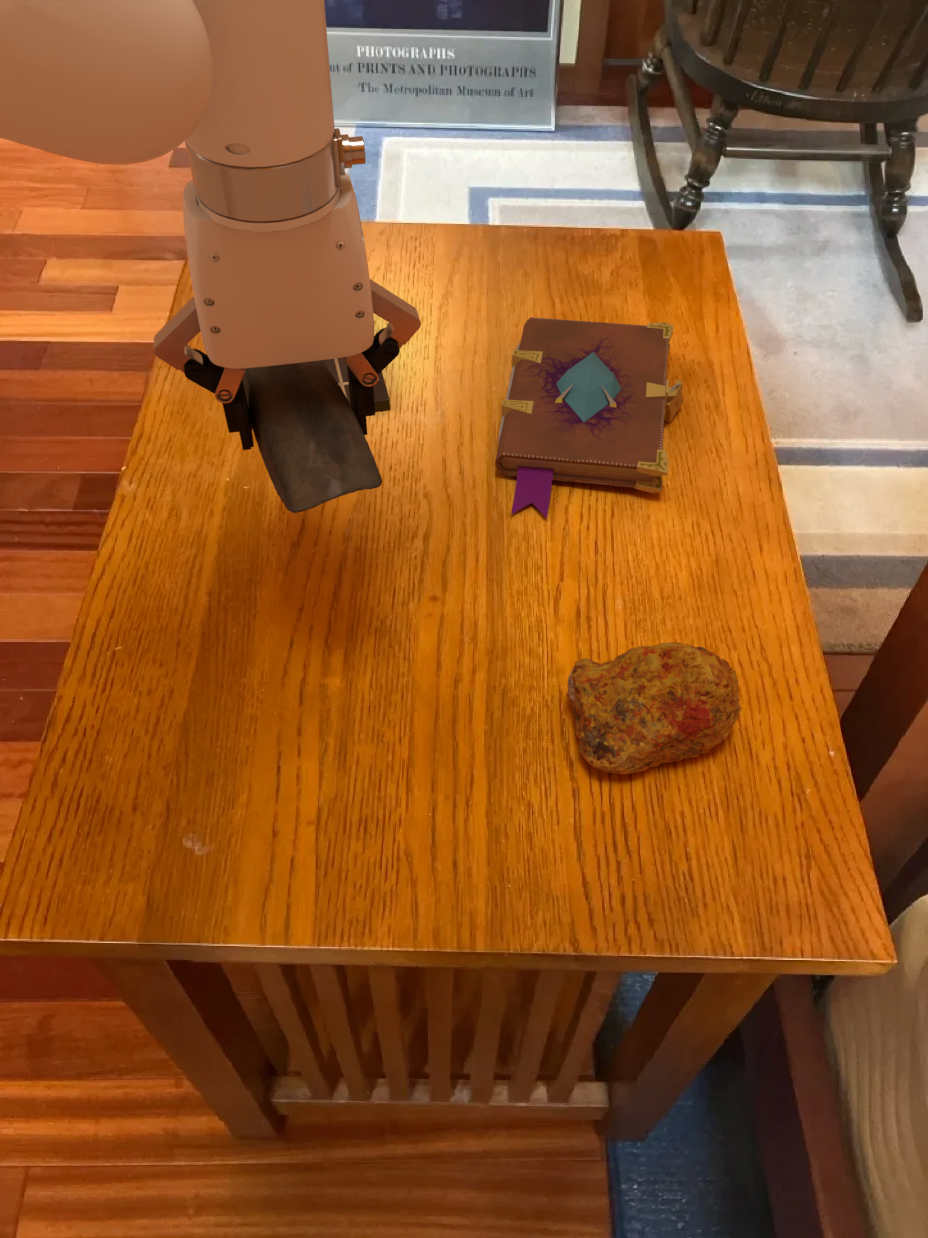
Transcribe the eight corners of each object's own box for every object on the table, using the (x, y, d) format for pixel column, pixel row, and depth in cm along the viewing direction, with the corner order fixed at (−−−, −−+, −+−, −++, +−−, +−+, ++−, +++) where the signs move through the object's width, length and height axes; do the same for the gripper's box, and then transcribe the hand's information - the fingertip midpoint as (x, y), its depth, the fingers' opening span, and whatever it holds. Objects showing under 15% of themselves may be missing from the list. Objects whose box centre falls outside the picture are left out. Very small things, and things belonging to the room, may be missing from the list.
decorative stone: (392, 511, 59) (390, 463, 56) (295, 539, 58) (286, 492, 54) (308, 353, 69) (303, 304, 65) (223, 373, 67) (212, 324, 64)
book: (484, 520, 80) (483, 478, 76) (521, 344, 95) (522, 301, 91) (676, 539, 78) (686, 497, 74) (683, 356, 93) (692, 313, 89)
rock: (656, 811, 68) (574, 775, 61) (611, 725, 73) (532, 684, 67) (779, 718, 64) (704, 669, 57) (721, 635, 70) (648, 582, 63)
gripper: (417, 120, 52) (420, 378, 66) (93, 144, 49) (170, 407, 63) (443, 190, 47) (441, 450, 62) (90, 221, 45) (173, 485, 59)
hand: (303, 427), depth 62 cm, fingers closed on decorative stone, 6 cm apart
